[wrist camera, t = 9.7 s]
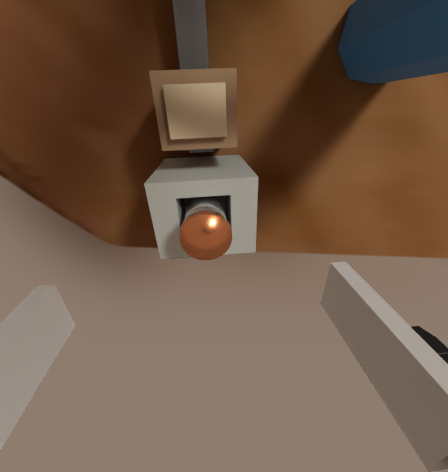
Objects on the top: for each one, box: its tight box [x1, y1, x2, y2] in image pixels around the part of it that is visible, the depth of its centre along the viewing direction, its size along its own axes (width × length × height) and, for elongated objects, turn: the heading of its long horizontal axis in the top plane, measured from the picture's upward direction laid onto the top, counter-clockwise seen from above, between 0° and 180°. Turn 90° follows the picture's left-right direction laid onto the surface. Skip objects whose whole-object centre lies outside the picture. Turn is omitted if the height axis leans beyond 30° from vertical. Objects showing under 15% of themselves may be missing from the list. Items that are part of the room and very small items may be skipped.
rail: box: [172, 0, 221, 153], centre depth 23 cm, size 18×5×3 cm, turn 2°
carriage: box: [149, 68, 237, 151], centre depth 23 cm, size 6×7×10 cm
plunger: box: [179, 196, 232, 260], centre depth 21 cm, size 4×4×6 cm
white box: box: [144, 155, 258, 260], centre depth 26 cm, size 8×10×12 cm
